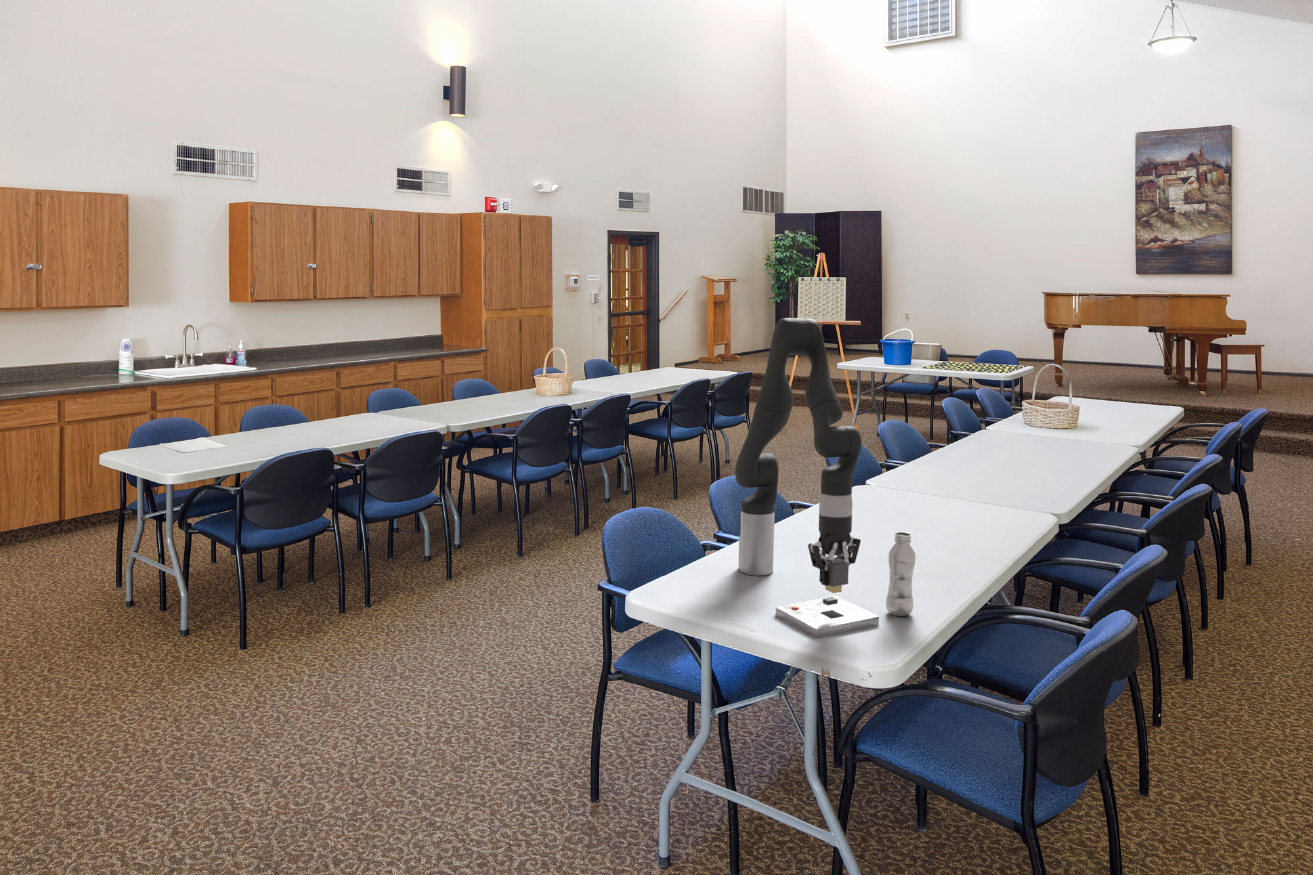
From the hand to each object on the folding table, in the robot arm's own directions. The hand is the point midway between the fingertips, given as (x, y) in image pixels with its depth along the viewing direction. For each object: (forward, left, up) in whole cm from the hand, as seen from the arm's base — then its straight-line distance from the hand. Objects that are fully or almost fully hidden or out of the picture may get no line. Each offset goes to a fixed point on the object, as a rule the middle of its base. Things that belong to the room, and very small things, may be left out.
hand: (833, 583), depth 207 cm
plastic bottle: (+3, +18, -10) cm, 21 cm away
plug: (0, 0, -2) cm, 2 cm away
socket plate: (-2, 0, -10) cm, 10 cm away
